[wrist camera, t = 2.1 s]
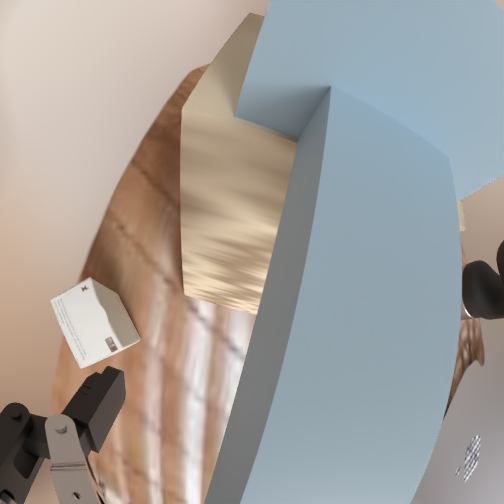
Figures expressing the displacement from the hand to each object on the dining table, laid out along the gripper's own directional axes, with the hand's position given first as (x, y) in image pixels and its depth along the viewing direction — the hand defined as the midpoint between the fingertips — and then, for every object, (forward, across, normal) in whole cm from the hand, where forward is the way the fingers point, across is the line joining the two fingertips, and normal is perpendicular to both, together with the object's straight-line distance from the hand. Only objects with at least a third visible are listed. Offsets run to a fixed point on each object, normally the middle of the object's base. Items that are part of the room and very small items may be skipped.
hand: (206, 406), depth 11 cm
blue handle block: (-2, -3, -10) cm, 10 cm away
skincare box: (+24, +16, +15) cm, 32 cm away
